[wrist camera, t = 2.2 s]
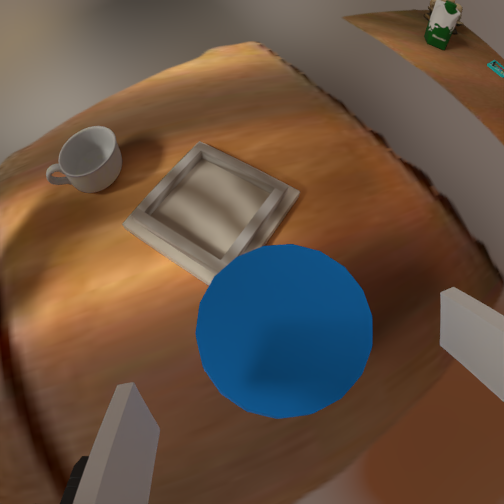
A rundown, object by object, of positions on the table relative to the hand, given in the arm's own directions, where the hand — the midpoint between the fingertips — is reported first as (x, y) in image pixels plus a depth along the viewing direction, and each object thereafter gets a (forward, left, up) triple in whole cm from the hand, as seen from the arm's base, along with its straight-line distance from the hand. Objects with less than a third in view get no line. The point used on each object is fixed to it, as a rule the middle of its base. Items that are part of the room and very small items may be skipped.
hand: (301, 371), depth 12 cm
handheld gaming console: (+138, -28, -31) cm, 144 cm away
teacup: (+12, +43, -31) cm, 54 cm away
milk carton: (+121, +1, -31) cm, 124 cm away
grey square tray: (+18, +20, -30) cm, 41 cm away
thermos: (+3, +1, -31) cm, 31 cm away
